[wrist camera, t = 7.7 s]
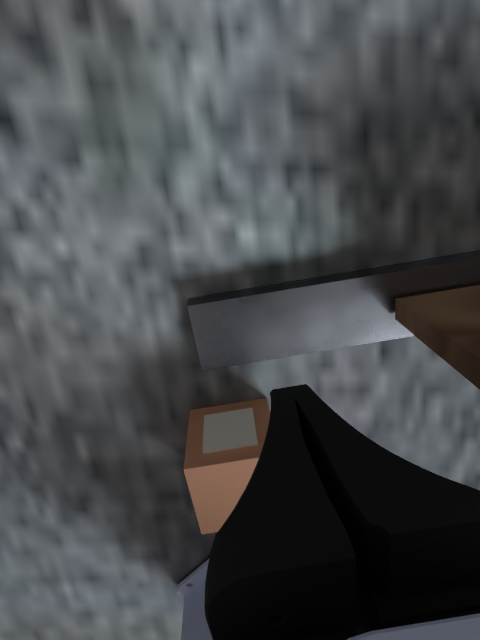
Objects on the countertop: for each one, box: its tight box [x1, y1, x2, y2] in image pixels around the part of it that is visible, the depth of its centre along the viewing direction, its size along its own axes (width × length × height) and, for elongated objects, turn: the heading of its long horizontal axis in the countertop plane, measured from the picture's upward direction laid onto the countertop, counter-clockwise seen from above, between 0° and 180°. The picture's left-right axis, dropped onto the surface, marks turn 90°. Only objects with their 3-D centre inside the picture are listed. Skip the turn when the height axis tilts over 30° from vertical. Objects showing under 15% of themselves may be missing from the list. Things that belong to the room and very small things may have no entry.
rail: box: [187, 251, 480, 371], centre depth 20 cm, size 24×4×1 cm, turn 98°
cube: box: [183, 398, 270, 534], centre depth 21 cm, size 5×5×5 cm
